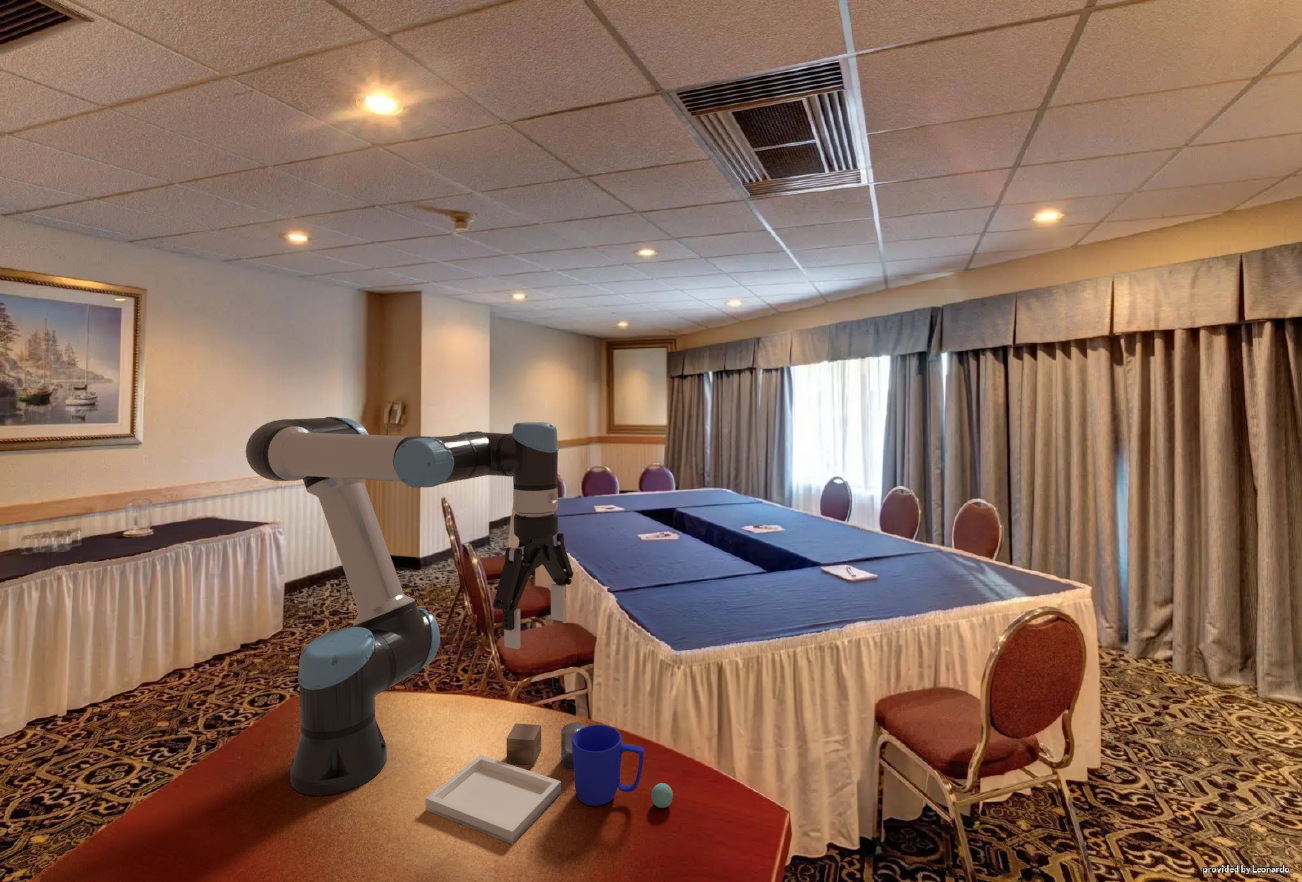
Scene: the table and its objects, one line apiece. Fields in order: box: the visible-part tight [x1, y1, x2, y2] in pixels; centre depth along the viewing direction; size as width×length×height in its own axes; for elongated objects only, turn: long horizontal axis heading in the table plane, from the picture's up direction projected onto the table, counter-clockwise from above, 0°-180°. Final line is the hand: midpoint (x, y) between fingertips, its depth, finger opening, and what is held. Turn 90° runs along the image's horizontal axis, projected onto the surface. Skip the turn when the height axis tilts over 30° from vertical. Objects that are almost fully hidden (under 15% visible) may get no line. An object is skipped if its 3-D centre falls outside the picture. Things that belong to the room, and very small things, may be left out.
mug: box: [572, 724, 645, 807], centre depth 101 cm, size 8×12×10 cm
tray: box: [425, 754, 562, 845], centre depth 99 cm, size 17×13×2 cm
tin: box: [560, 722, 588, 771], centre depth 110 cm, size 5×5×6 cm
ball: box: [650, 782, 674, 809], centre depth 99 cm, size 4×4×4 cm
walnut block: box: [506, 723, 542, 767], centre depth 111 cm, size 5×5×5 cm
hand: (536, 632), depth 106 cm, fingers open, 13 cm apart
